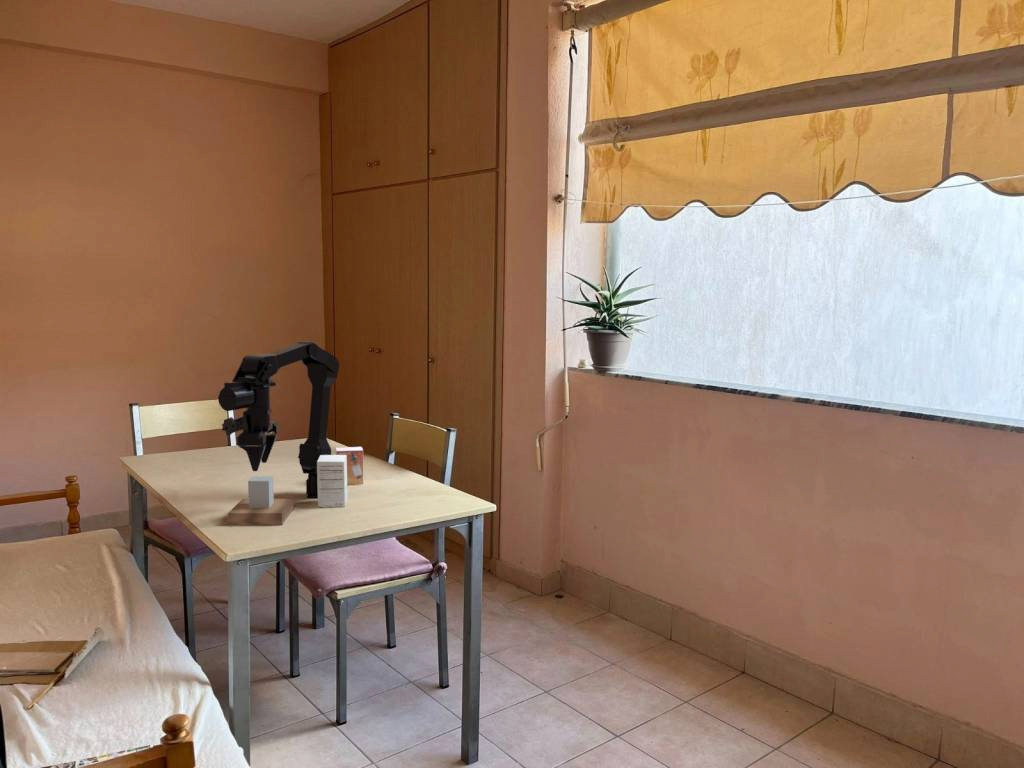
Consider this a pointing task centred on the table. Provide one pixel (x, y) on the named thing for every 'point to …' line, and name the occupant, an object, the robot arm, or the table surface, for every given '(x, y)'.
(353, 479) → the small box
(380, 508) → the table surface
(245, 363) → the robot arm
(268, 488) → the grey block
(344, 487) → the supplement box
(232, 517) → the walnut base
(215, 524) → the table surface
